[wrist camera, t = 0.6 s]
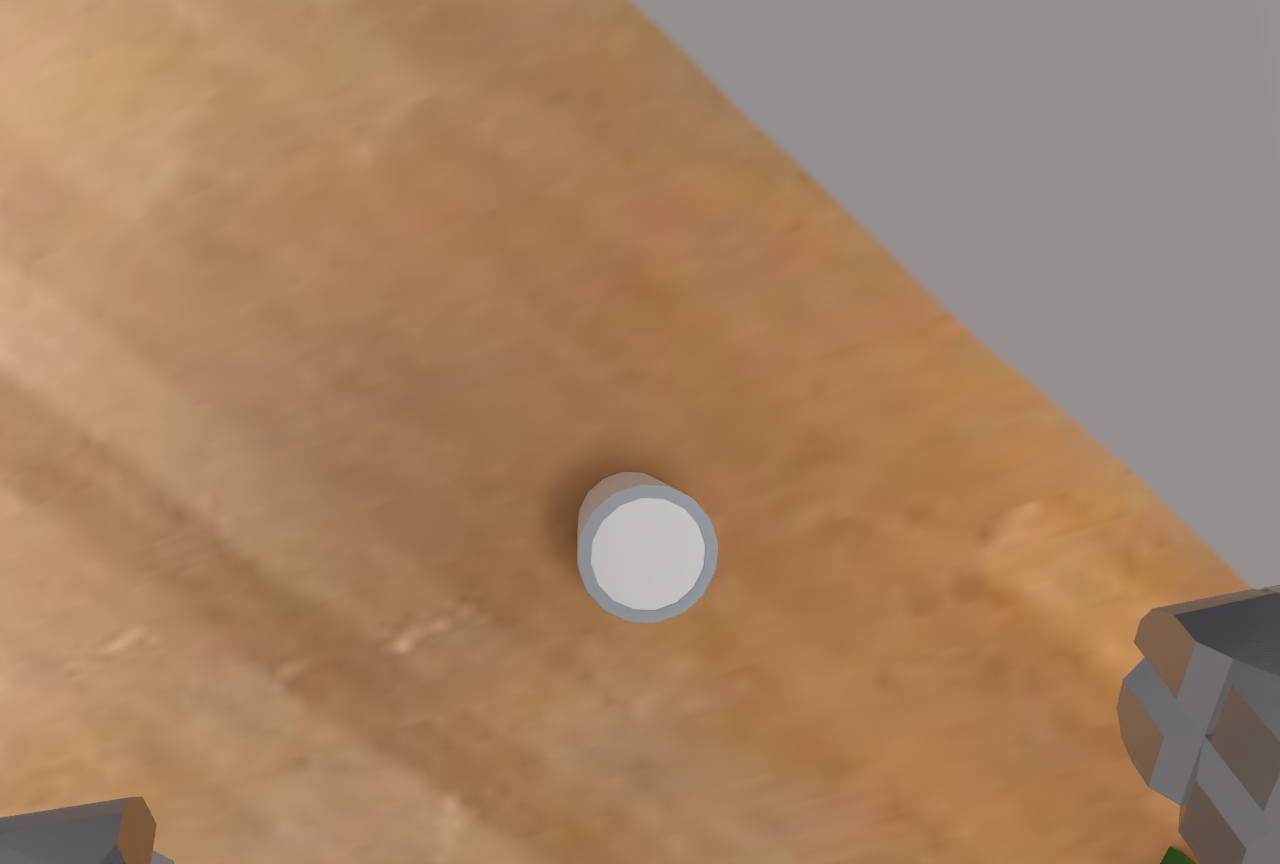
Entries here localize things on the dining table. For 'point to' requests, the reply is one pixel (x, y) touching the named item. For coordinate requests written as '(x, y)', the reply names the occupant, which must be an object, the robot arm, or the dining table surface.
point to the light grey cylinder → (644, 548)
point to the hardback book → (1175, 857)
